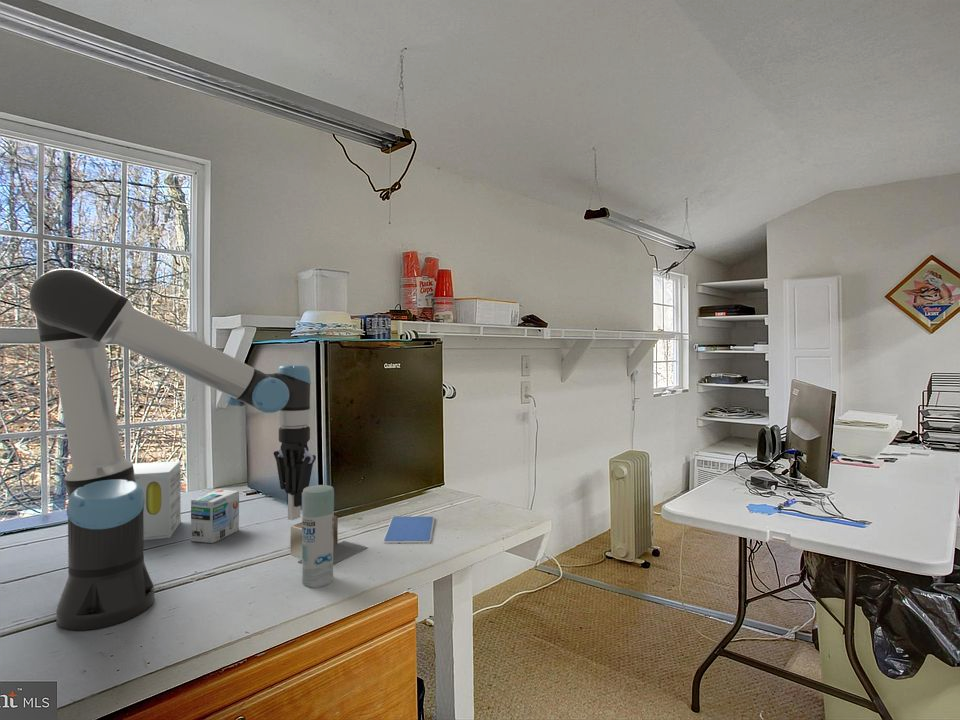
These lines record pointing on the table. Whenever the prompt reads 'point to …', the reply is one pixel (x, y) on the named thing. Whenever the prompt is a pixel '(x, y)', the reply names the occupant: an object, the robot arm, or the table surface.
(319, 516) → the spray paint can
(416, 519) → the tablet computer
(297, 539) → the walnut block
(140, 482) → the supplement box
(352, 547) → the mat
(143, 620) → the table surface
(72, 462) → the robot arm
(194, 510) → the light bulb box
